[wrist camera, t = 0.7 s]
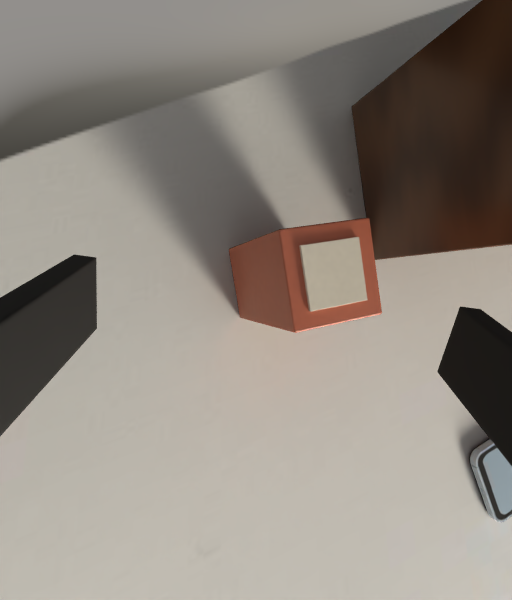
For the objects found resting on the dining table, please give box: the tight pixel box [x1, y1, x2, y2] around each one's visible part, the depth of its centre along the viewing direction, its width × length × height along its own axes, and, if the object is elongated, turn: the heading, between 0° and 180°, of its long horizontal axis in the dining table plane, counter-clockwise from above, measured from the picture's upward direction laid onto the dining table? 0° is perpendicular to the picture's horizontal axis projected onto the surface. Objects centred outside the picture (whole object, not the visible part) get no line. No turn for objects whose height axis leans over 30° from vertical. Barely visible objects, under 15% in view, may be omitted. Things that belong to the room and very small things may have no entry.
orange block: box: [229, 218, 382, 333], centre depth 24 cm, size 5×5×10 cm
